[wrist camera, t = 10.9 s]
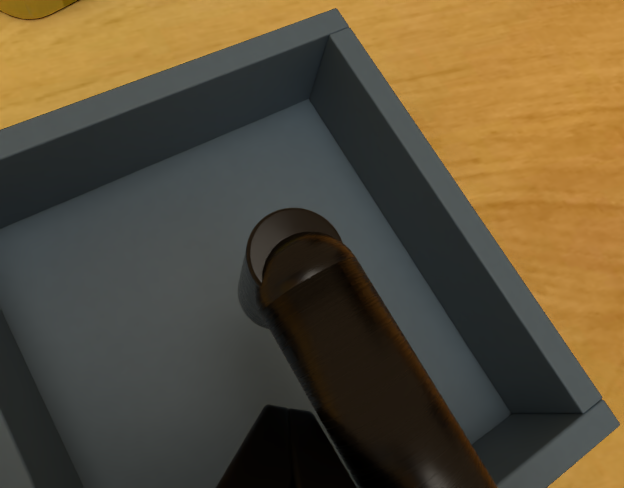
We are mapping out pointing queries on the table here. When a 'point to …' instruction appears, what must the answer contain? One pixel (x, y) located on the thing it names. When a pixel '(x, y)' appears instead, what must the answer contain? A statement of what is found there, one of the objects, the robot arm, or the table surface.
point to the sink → (228, 263)
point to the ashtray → (32, 7)
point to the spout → (352, 358)
